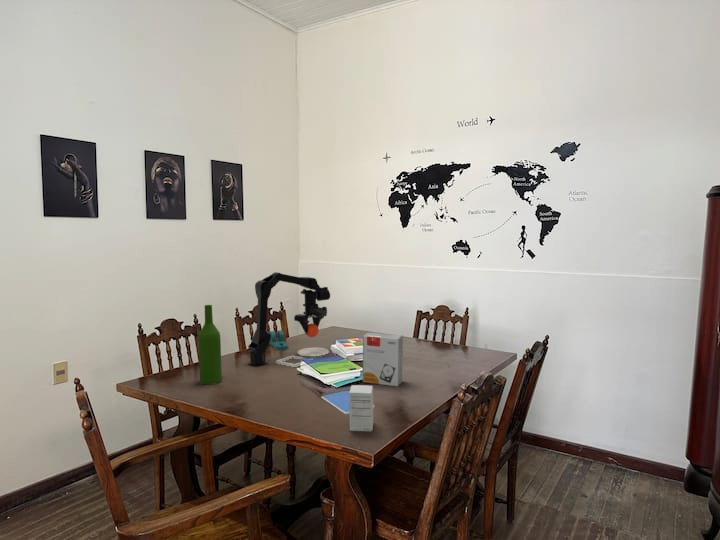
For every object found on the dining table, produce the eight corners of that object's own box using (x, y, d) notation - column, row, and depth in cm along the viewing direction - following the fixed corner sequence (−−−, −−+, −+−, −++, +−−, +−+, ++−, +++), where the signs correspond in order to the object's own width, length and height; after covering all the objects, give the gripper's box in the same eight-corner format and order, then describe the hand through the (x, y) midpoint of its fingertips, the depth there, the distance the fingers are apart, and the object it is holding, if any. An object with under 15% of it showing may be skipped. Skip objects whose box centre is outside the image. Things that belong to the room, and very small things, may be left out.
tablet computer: (375, 408, 172) (375, 405, 171) (345, 416, 165) (345, 412, 165) (349, 393, 188) (348, 389, 188) (320, 399, 182) (320, 395, 181)
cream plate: (314, 359, 236) (314, 357, 236) (291, 354, 245) (291, 352, 245) (335, 352, 249) (335, 350, 249) (311, 347, 258) (311, 346, 258)
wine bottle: (212, 376, 209) (210, 303, 206) (226, 380, 204) (223, 304, 201) (195, 382, 202) (192, 305, 199) (208, 385, 197) (206, 307, 194)
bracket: (269, 344, 269) (269, 330, 268) (281, 342, 271) (280, 329, 271) (277, 351, 252) (277, 336, 252) (289, 350, 255) (289, 335, 254)
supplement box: (351, 421, 159) (351, 384, 158) (373, 422, 158) (373, 385, 157) (349, 431, 151) (348, 392, 150) (372, 431, 151) (372, 392, 150)
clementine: (304, 339, 239) (303, 325, 239) (302, 336, 246) (301, 322, 245) (319, 338, 241) (319, 324, 241) (317, 335, 248) (317, 321, 247)
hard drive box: (362, 382, 199) (361, 335, 197) (368, 377, 206) (367, 332, 204) (398, 386, 193) (398, 338, 192) (403, 381, 201) (403, 334, 199)
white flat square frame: (294, 367, 221) (294, 364, 221) (276, 363, 228) (276, 360, 228) (310, 362, 230) (310, 359, 230) (292, 358, 237) (292, 355, 237)
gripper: (309, 306, 230) (310, 337, 232) (334, 300, 245) (335, 330, 247) (293, 304, 237) (294, 335, 238) (317, 299, 252) (318, 328, 253)
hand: (311, 332), depth 244 cm, fingers closed on clementine, 7 cm apart
